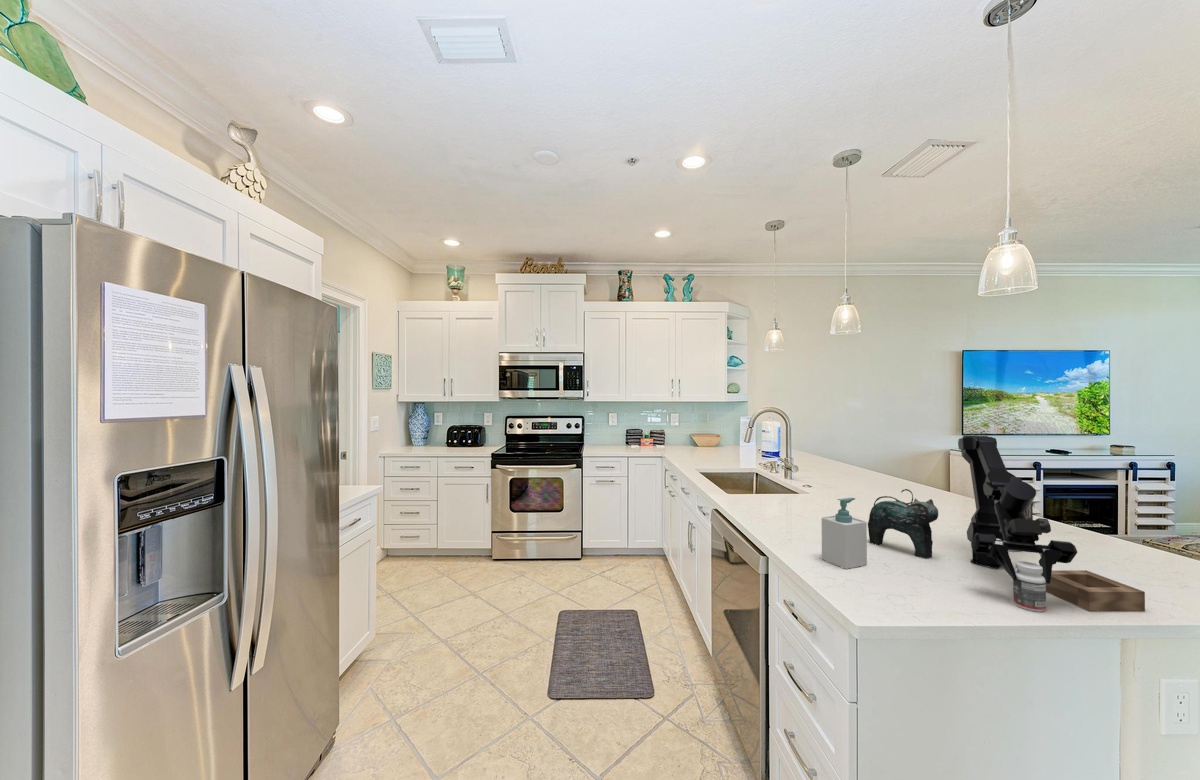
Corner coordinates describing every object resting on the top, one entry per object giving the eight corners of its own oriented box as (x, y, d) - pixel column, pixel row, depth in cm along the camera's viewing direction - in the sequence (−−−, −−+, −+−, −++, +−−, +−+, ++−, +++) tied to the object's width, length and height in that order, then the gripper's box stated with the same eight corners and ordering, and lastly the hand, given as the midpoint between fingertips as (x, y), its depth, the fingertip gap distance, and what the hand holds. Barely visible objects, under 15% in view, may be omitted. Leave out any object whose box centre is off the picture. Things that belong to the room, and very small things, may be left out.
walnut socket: (1089, 611, 106) (1089, 591, 106) (1037, 587, 119) (1036, 570, 119) (1145, 611, 106) (1144, 591, 106) (1086, 587, 119) (1086, 570, 119)
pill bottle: (1012, 599, 113) (1012, 558, 113) (1044, 605, 109) (1044, 564, 109) (1014, 607, 108) (1013, 565, 108) (1047, 615, 105) (1047, 571, 105)
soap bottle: (867, 565, 135) (867, 500, 135) (845, 569, 132) (845, 503, 132) (842, 555, 143) (842, 494, 143) (821, 559, 140) (820, 496, 140)
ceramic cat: (940, 558, 140) (939, 493, 141) (928, 562, 137) (928, 495, 138) (875, 540, 158) (874, 482, 158) (863, 543, 155) (863, 483, 155)
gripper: (974, 500, 116) (989, 558, 106) (1073, 508, 108) (1099, 571, 98) (965, 523, 123) (978, 580, 113) (1057, 532, 115) (1080, 594, 105)
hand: (1031, 581), depth 107 cm, fingers closed on pill bottle, 6 cm apart
